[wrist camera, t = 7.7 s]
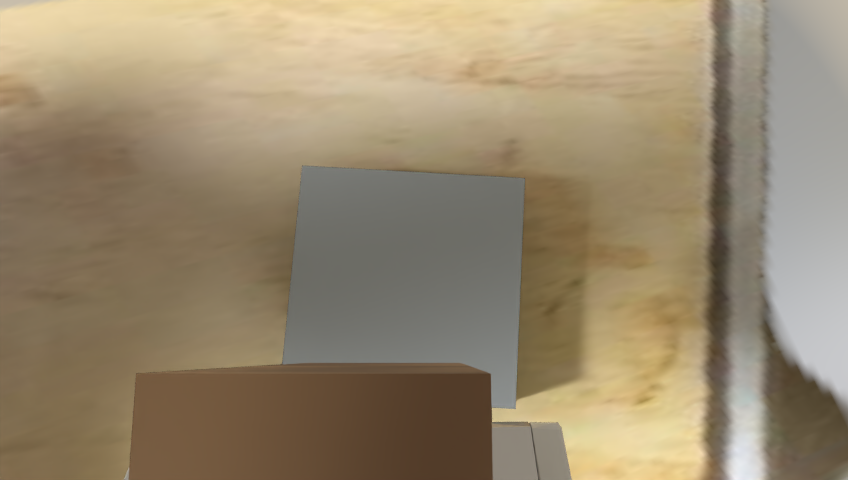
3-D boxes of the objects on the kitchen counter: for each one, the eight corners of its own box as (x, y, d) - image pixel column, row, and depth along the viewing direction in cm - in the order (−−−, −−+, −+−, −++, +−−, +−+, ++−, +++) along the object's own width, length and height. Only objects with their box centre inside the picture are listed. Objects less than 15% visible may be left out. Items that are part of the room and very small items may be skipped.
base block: (299, 388, 32) (279, 392, 28) (318, 187, 34) (302, 165, 30) (506, 402, 32) (515, 408, 28) (515, 199, 33) (524, 178, 29)
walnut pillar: (303, 524, 17) (107, 770, 7) (307, 363, 17) (136, 373, 7) (462, 525, 17) (497, 775, 7) (460, 362, 17) (491, 373, 7)
